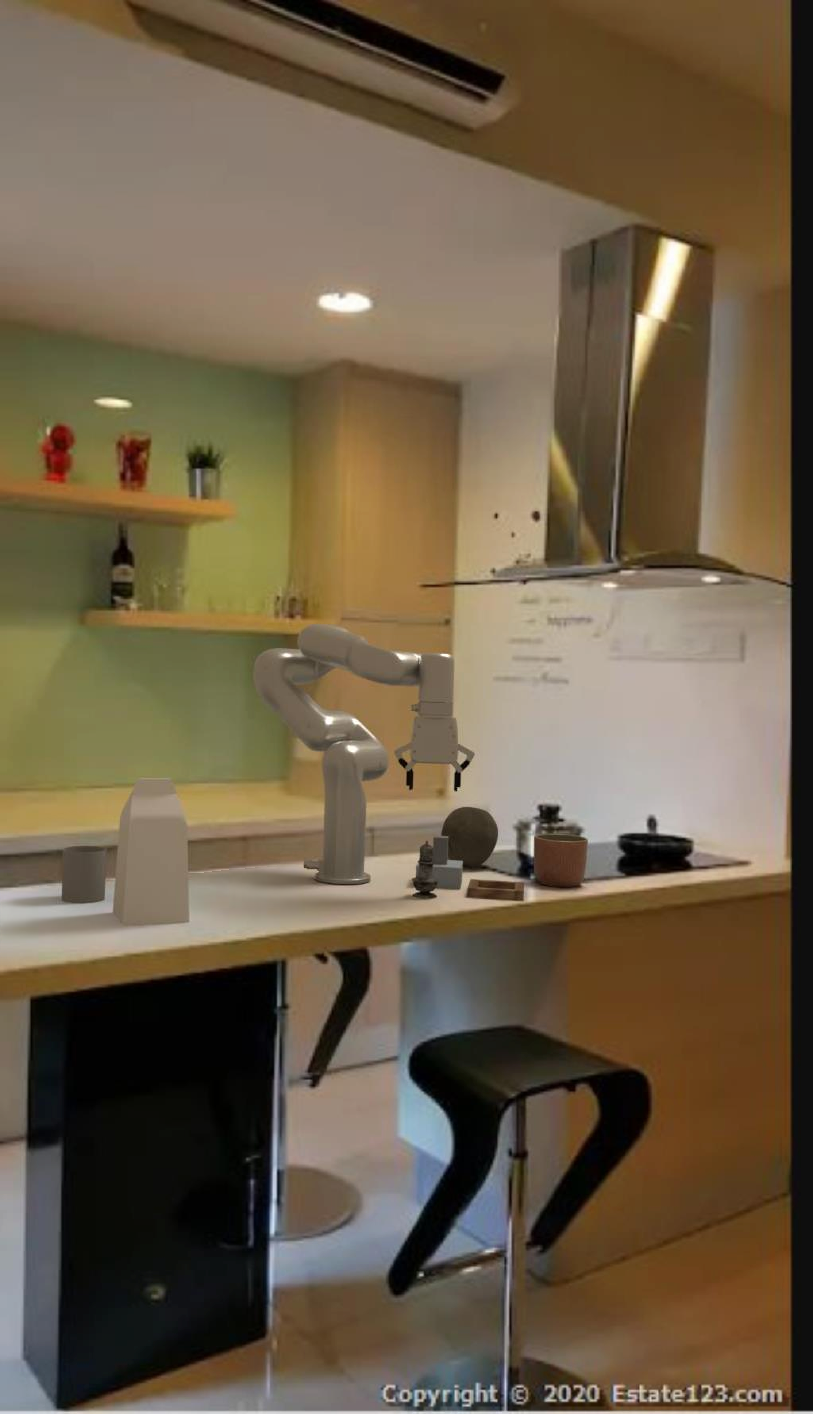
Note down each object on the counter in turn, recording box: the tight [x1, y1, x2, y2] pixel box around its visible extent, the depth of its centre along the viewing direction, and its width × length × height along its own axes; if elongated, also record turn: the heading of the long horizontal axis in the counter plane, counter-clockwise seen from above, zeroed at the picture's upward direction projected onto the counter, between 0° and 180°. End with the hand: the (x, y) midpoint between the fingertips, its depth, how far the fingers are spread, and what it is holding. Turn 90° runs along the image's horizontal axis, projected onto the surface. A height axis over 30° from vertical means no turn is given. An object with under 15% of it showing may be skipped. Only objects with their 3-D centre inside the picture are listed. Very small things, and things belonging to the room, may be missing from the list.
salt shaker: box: [411, 840, 439, 900], centre depth 240 cm, size 6×6×12 cm
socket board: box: [466, 878, 525, 902], centre depth 245 cm, size 12×11×2 cm
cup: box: [61, 845, 107, 905], centre depth 223 cm, size 8×8×10 cm
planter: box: [533, 833, 589, 888], centre depth 260 cm, size 12×12×11 cm
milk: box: [112, 777, 190, 927], centre depth 209 cm, size 12×12×26 cm
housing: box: [415, 835, 464, 890], centre depth 254 cm, size 10×10×11 cm
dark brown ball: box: [440, 806, 499, 869], centre depth 279 cm, size 14×14×15 cm
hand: (433, 790), depth 241 cm, fingers open, 9 cm apart
